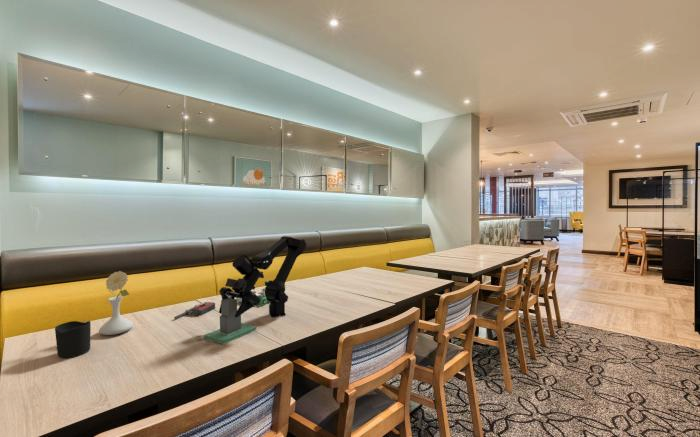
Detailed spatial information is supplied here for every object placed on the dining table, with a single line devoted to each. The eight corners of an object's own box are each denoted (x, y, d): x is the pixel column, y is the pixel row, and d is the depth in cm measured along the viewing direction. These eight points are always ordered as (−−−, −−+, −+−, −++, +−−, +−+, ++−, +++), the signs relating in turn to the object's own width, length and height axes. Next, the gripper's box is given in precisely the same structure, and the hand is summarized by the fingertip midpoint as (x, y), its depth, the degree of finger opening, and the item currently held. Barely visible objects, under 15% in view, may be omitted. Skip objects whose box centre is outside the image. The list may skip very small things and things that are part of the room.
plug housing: (233, 326, 135) (233, 296, 134) (241, 329, 132) (240, 298, 132) (220, 332, 129) (219, 300, 128) (227, 334, 127) (226, 302, 126)
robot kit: (290, 296, 184) (290, 279, 184) (257, 309, 162) (257, 290, 162) (265, 291, 193) (264, 276, 192) (231, 303, 171) (230, 285, 171)
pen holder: (87, 344, 121) (86, 317, 121) (94, 352, 115) (93, 324, 115) (53, 353, 114) (52, 325, 113) (59, 362, 108) (58, 332, 107)
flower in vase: (92, 335, 130) (89, 272, 129) (121, 325, 140) (119, 266, 139) (114, 340, 125) (111, 274, 124) (142, 329, 136) (140, 269, 134)
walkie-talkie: (202, 306, 166) (172, 320, 146) (202, 298, 166) (172, 311, 146) (217, 308, 164) (189, 322, 144) (217, 299, 164) (189, 312, 144)
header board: (237, 324, 140) (237, 313, 140) (255, 329, 135) (255, 318, 135) (204, 338, 127) (203, 326, 126) (223, 344, 121) (222, 331, 121)
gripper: (222, 267, 138) (199, 300, 129) (254, 272, 128) (231, 308, 119) (237, 282, 145) (216, 314, 136) (269, 288, 135) (248, 323, 126)
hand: (227, 314), depth 129 cm, fingers open, 9 cm apart
